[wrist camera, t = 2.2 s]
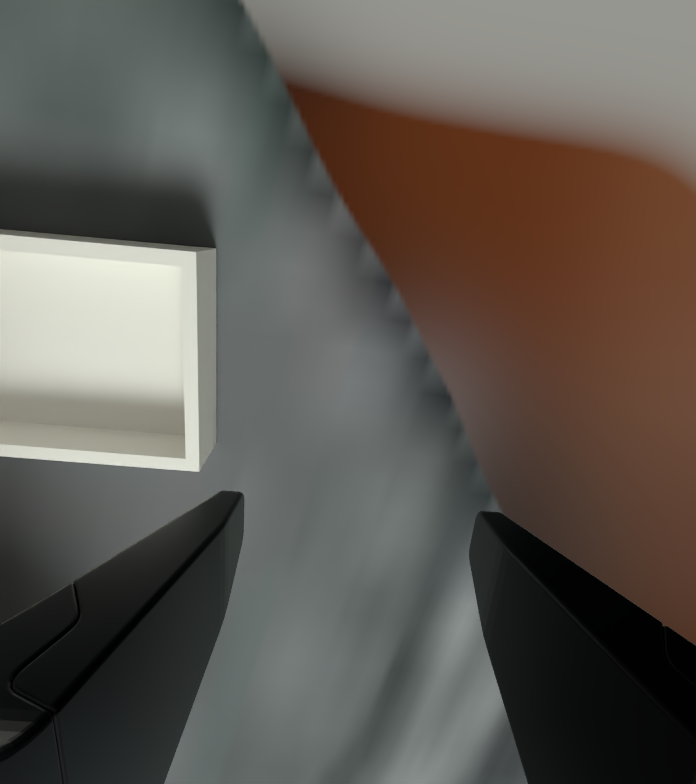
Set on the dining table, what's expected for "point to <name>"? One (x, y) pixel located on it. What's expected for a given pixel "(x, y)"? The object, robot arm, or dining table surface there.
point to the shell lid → (107, 351)
